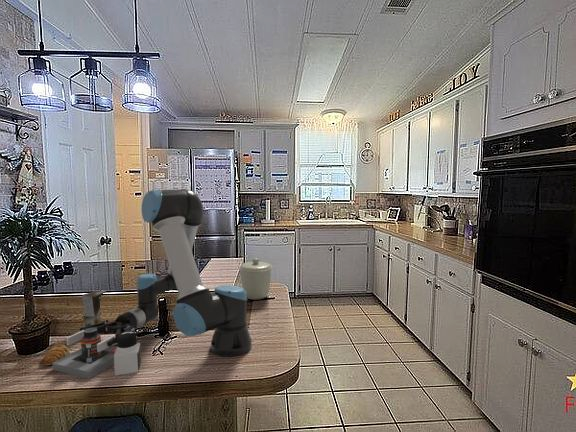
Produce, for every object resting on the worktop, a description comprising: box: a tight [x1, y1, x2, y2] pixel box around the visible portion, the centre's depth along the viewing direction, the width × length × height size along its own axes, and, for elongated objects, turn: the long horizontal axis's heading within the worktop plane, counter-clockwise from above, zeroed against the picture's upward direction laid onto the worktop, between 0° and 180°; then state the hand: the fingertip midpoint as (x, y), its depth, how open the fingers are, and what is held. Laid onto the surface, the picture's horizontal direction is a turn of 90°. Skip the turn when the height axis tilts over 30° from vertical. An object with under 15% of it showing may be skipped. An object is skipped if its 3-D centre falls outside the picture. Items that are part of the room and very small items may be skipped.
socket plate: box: [52, 345, 117, 380], centre depth 120 cm, size 16×16×3 cm
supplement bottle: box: [80, 328, 102, 364], centre depth 120 cm, size 6×6×11 cm
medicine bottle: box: [113, 332, 142, 377], centre depth 116 cm, size 7×7×12 cm
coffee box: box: [81, 290, 106, 326], centre depth 146 cm, size 9×6×16 cm
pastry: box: [43, 344, 70, 367], centre depth 122 cm, size 9×7×4 cm
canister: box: [238, 257, 273, 300], centre depth 187 cm, size 18×18×21 cm
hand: (82, 345), depth 116 cm, fingers open, 13 cm apart
